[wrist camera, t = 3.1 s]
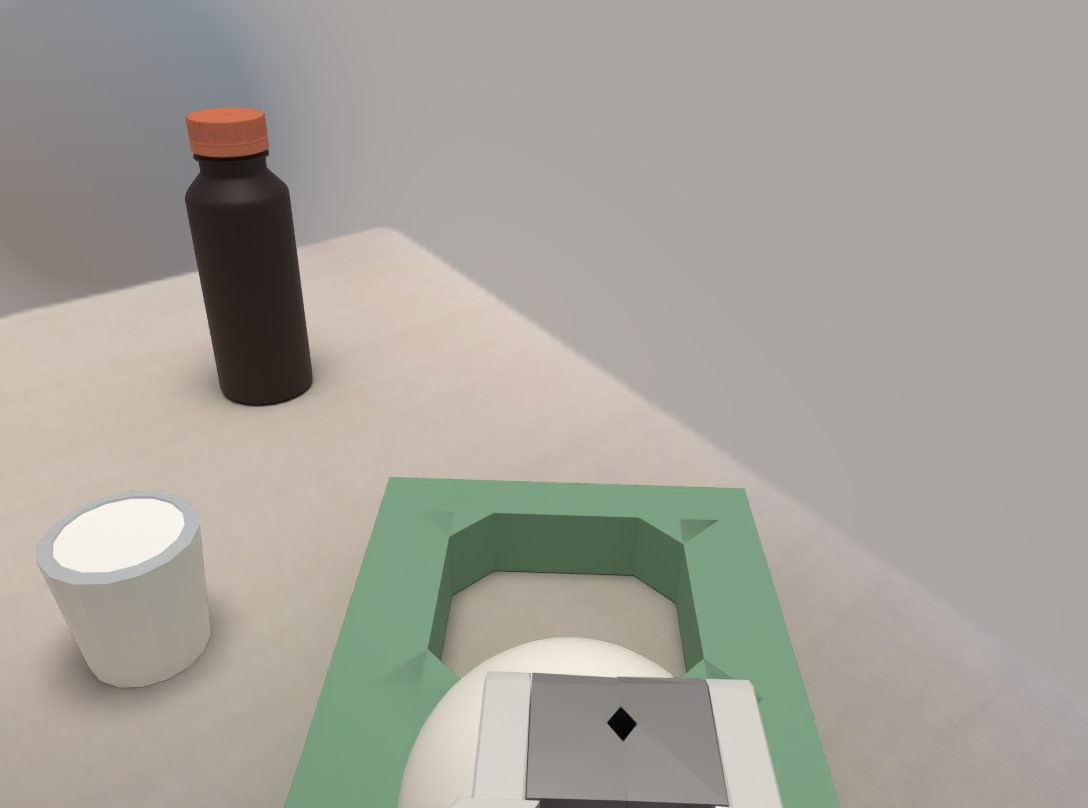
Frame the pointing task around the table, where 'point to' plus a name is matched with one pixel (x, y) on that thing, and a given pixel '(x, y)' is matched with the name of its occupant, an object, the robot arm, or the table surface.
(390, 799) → the green cutout tray
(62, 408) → the table surface
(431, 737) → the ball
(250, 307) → the bottle
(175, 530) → the white cup
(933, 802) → the table surface
